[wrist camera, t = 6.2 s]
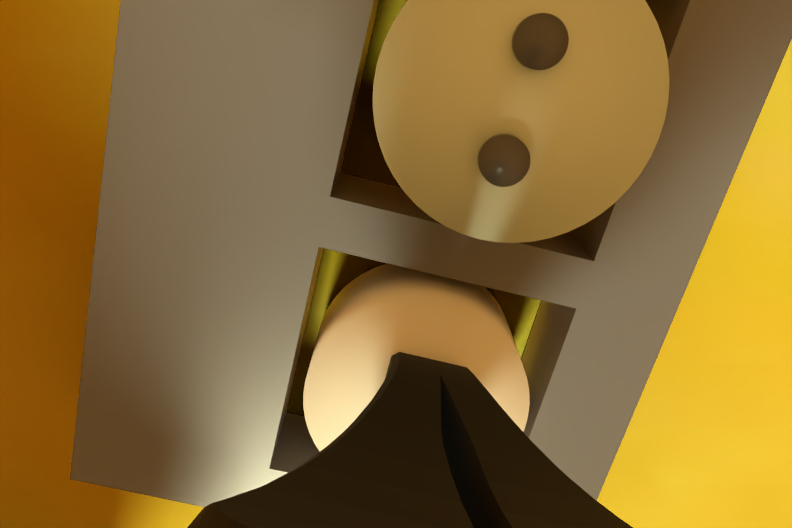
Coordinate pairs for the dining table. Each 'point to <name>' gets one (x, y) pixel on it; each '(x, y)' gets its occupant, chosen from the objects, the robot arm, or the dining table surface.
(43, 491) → the dining table surface
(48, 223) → the dining table surface
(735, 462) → the dining table surface
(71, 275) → the dining table surface
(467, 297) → the button one
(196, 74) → the button panel
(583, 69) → the button two
